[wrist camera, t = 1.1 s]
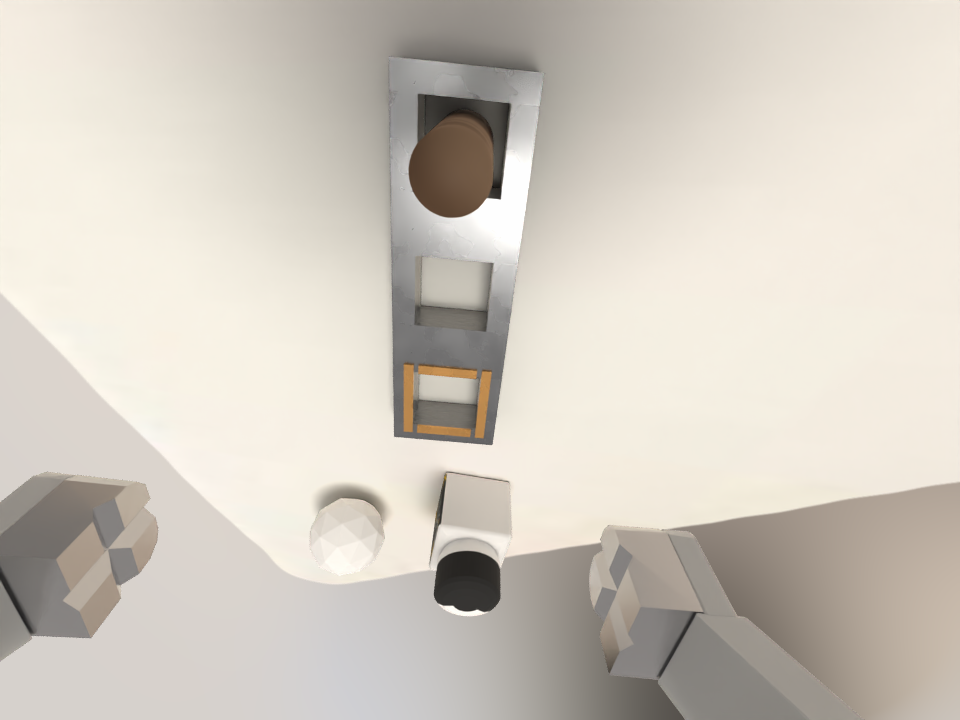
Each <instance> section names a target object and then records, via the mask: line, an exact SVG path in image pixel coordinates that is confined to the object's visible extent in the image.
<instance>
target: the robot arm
mask: <svg viewBox="0 0 960 720" xmlns="http://www.w3.org/2000/svg"><path fill="white" fill-rule="evenodd" d="M149 500H150V496H149V493H148V491H147V488H146V485H145V484H142V483H139V482H133V481H124V480H116V479H108V478H98V477H91V476H82V475H69V474H61V473H51V472H45V473H42V474H39V475H36V476H33V477H32V478H30V479H29V480H28V481H26V482H25V483H24V484H23V485H21V486H20V487H19V488H18V489H16V490H15V491H14V492H13V493H11V494H10V495H9V496H8V497H6V498H5V499H4V500H2V501H1V502H0V661H1V660H3V659H4V658H6V657H7V656H8V655H10V654H11V653H13V652H14V651H16V650H17V649H18V648H20V647H21V646H23V645H24V644H26V643H27V642H28V641H30V640H31V639H32V637H31V636H52V637H77V638H91V637H92V636H93V635H94V633H95V632H96V631H97V629H98V628H99V627H100V625H101V624H102V623H103V621H104V620H105V619H106V617H107V616H108V615H109V614H110V612H111V611H112V610H113V608H114V607H115V606H116V604H117V603H118V602H119V600H120V599H121V584H123V583H125V582H126V581H128V580H130V579H131V578H133V577H135V576H136V575H138V574H139V573H140V572H141V571H142V569H143V568H144V566H145V565H146V564H147V562H148V561H149V559H150V558H151V555H152V553H153V550H154V548H155V545H156V543H157V536H158V526H157V522H156V518H155V517H154V516H153V515H152V514H151V513H150V512H149V511H148V510H146V509H145V508H144V506H145V504H146V503H147V502H148V501H149ZM600 540H601V544H602V547H603V550H602V551H601V552H600V553H598V554H596V555H595V556H594V558H593V561H592V565H591V568H590V580H589V586H590V597H591V601H592V606H593V610H594V611H595V612H596V613H597V615H598V616H599V617H600V618H601V619H602V620H603V621H604V625H603V627H602V629H601V632H600V639H601V644H602V648H603V652H604V656H605V660H606V664H607V668H608V672H609V675H616V676H626V677H635V678H646V679H655V680H659V681H658V684H659V685H660V686H661V688H662V689H663V690H664V692H665V693H666V694H667V696H668V697H669V698H670V700H671V701H672V702H673V704H674V705H675V706H676V708H677V709H678V710H679V712H680V713H681V714H682V715H683V717H684V718H685V720H864V719H863V718H862V717H860V716H859V715H858V714H857V713H856V712H855V711H853V709H851V708H850V707H849V706H848V705H847V704H845V703H844V702H843V701H842V700H841V699H840V698H839V697H837V696H836V695H835V694H834V693H833V692H832V691H830V690H829V689H828V688H827V687H826V686H825V685H824V684H822V683H821V682H820V681H819V680H818V679H817V678H815V677H814V676H813V675H812V674H811V673H810V672H809V671H807V670H806V669H805V668H804V667H803V666H801V665H800V664H799V663H798V662H797V661H796V660H795V659H794V658H792V657H791V656H790V655H789V654H788V653H786V652H785V651H784V650H783V649H782V648H781V647H780V646H778V645H777V644H776V643H775V642H774V641H773V640H772V639H770V638H769V637H768V636H767V635H766V634H764V633H763V632H762V631H761V630H760V629H759V628H758V627H756V626H755V625H754V624H753V623H752V622H750V620H748V619H747V618H746V617H739V616H737V615H736V613H735V611H734V609H733V607H732V606H731V604H730V602H729V600H728V598H727V596H726V594H725V592H724V591H723V589H722V587H721V585H720V583H719V581H718V579H717V578H716V575H715V574H714V572H713V570H712V568H711V566H710V564H709V562H708V561H707V558H706V557H705V555H704V553H703V551H702V549H701V547H700V545H699V543H698V541H697V540H696V538H695V536H694V535H692V534H691V533H690V532H686V531H675V530H663V529H662V530H660V529H653V528H640V527H628V526H616V525H608V526H607V527H606V528H605V529H604V531H603V533H602V536H601V539H600Z"/></svg>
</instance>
